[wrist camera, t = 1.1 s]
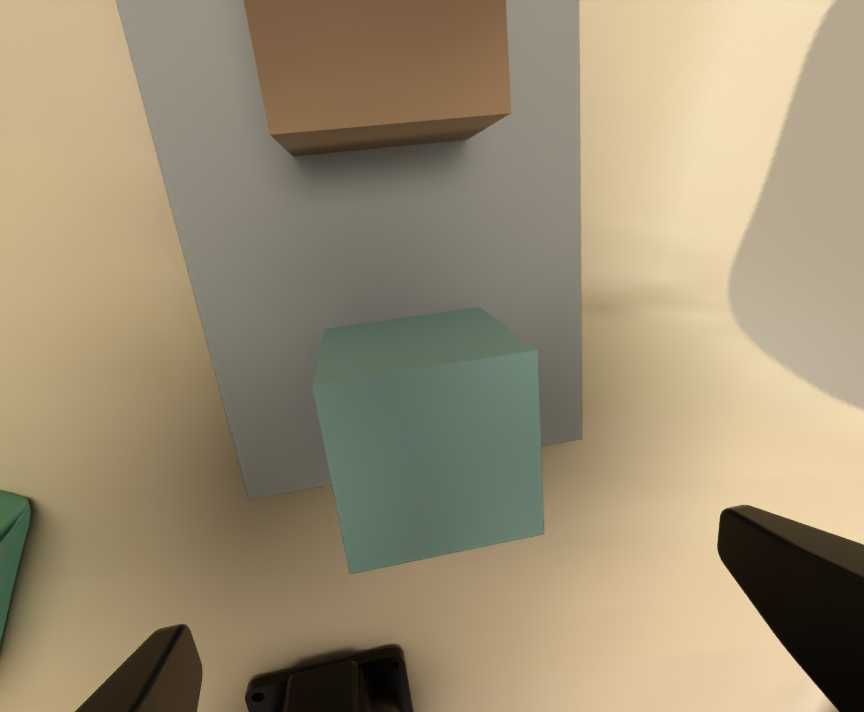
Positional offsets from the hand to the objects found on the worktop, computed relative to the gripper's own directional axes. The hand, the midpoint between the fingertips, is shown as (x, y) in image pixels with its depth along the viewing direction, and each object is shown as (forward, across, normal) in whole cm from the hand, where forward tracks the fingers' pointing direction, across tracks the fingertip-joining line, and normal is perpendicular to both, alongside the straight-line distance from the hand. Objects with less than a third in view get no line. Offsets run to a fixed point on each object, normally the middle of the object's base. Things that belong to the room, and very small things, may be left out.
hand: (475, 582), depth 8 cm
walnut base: (+8, 0, -10) cm, 13 cm away
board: (+10, 0, -5) cm, 11 cm away
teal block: (+8, 0, 0) cm, 9 cm away
